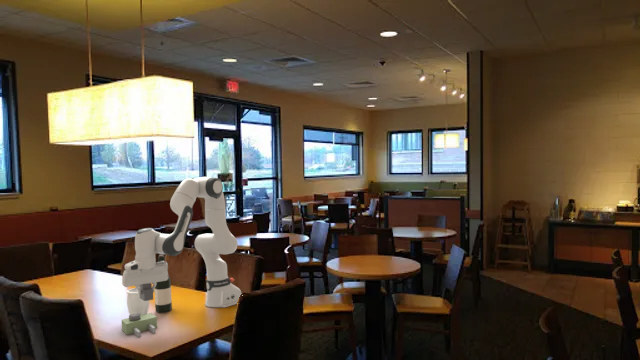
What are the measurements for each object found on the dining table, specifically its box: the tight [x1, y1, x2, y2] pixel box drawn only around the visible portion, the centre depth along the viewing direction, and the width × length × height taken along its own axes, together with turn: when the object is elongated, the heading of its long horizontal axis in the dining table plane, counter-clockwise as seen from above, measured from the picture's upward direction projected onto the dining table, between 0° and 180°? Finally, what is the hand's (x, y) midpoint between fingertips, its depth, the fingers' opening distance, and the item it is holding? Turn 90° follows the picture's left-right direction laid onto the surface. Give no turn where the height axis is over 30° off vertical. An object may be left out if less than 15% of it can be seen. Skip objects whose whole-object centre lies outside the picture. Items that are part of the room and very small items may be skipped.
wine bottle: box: [154, 254, 173, 314], centre depth 240 cm, size 8×8×30 cm
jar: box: [126, 287, 150, 315], centre depth 228 cm, size 11×10×15 cm
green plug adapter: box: [121, 312, 158, 338], centre depth 211 cm, size 14×15×7 cm
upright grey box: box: [140, 283, 154, 301], centre depth 208 cm, size 4×7×7 cm, turn 38°
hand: (146, 293), depth 208 cm, fingers closed on upright grey box, 4 cm apart
